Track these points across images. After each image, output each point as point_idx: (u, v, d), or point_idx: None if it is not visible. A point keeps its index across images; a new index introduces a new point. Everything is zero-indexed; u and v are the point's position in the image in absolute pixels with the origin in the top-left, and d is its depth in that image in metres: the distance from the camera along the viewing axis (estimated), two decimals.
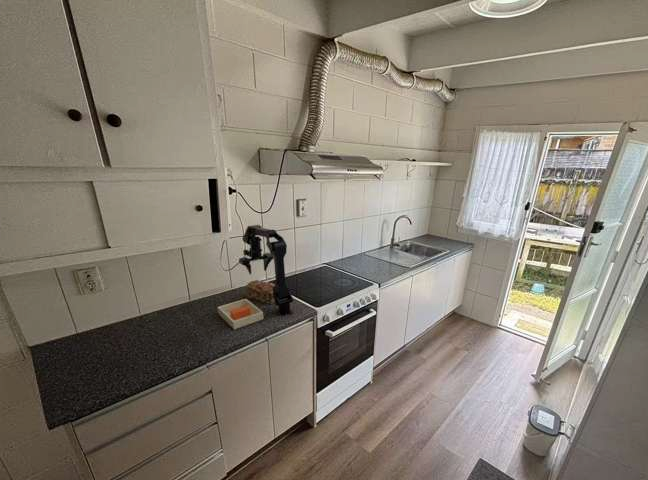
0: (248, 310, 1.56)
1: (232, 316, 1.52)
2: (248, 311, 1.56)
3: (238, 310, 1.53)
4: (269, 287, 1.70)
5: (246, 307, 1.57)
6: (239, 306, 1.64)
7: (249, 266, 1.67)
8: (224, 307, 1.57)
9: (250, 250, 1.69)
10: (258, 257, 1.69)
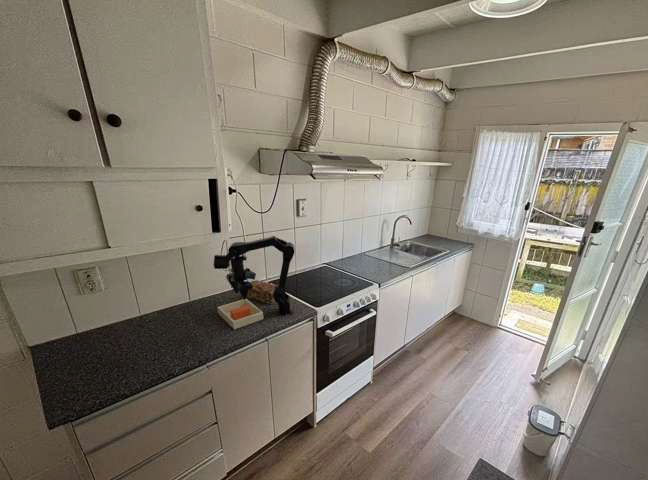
0: (248, 310, 1.56)
1: (232, 316, 1.52)
2: (248, 311, 1.56)
3: (238, 310, 1.53)
4: (269, 287, 1.70)
5: (246, 307, 1.57)
6: (239, 306, 1.64)
7: None
8: (224, 307, 1.57)
9: None
10: (233, 279, 1.48)
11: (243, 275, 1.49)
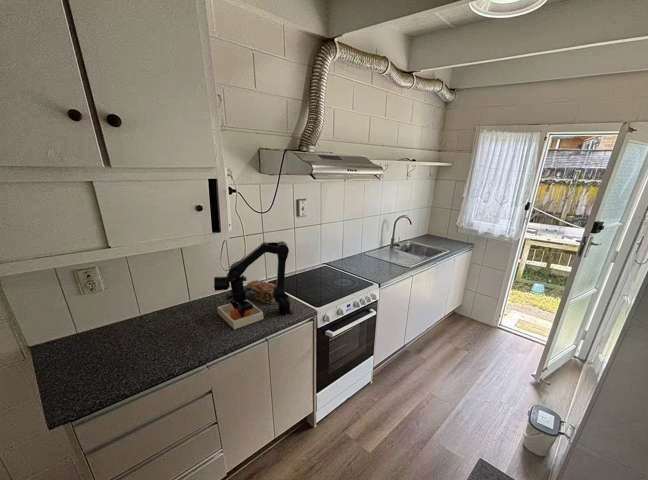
0: (248, 310, 1.56)
1: (232, 316, 1.52)
2: (248, 311, 1.56)
3: None
4: (269, 287, 1.70)
5: None
6: None
7: (231, 304, 1.54)
8: (224, 307, 1.57)
9: None
10: (233, 299, 1.50)
11: (243, 295, 1.50)
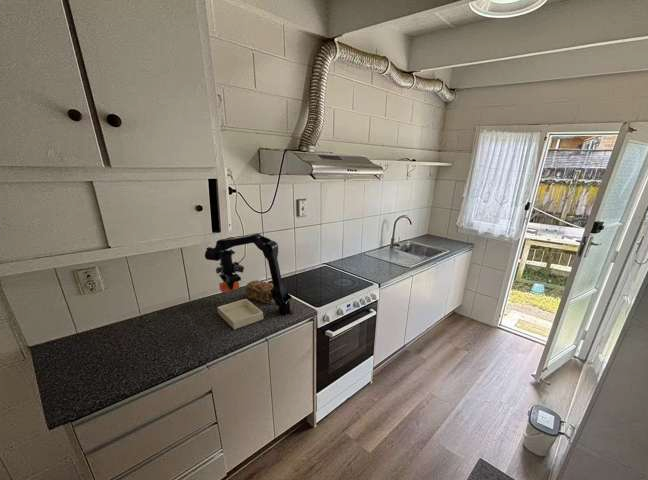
0: (237, 283, 1.63)
1: (221, 288, 1.59)
2: (237, 284, 1.63)
3: None
4: (269, 287, 1.70)
5: None
6: (239, 306, 1.64)
7: (221, 277, 1.61)
8: (224, 307, 1.57)
9: None
10: (222, 272, 1.57)
11: (232, 268, 1.58)
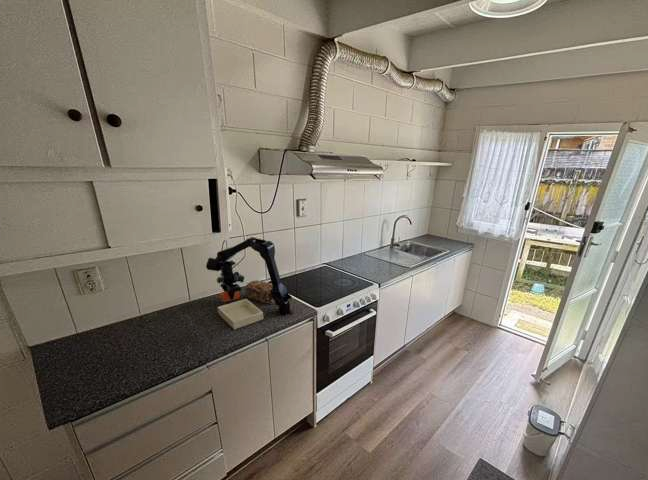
0: (237, 293, 1.67)
1: (222, 298, 1.63)
2: (237, 294, 1.67)
3: None
4: (269, 287, 1.70)
5: None
6: (239, 306, 1.64)
7: None
8: (224, 307, 1.57)
9: None
10: (223, 282, 1.61)
11: (232, 278, 1.61)
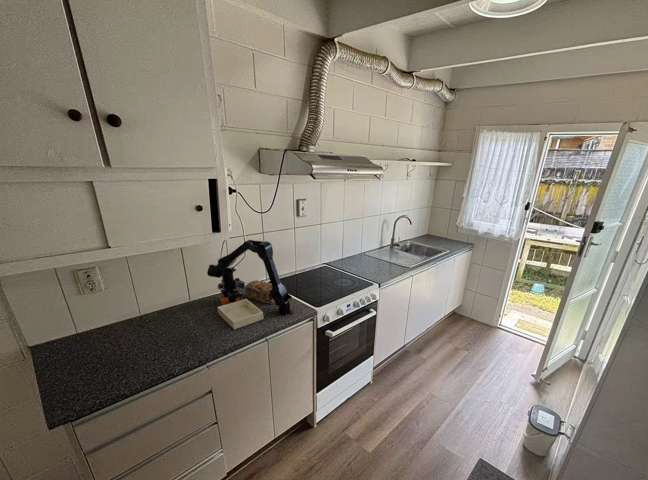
0: (238, 298, 1.68)
1: (223, 304, 1.64)
2: (238, 299, 1.68)
3: (228, 299, 1.65)
4: (269, 287, 1.70)
5: None
6: (239, 306, 1.64)
7: (222, 293, 1.67)
8: (224, 307, 1.57)
9: None
10: (223, 288, 1.62)
11: (233, 285, 1.63)
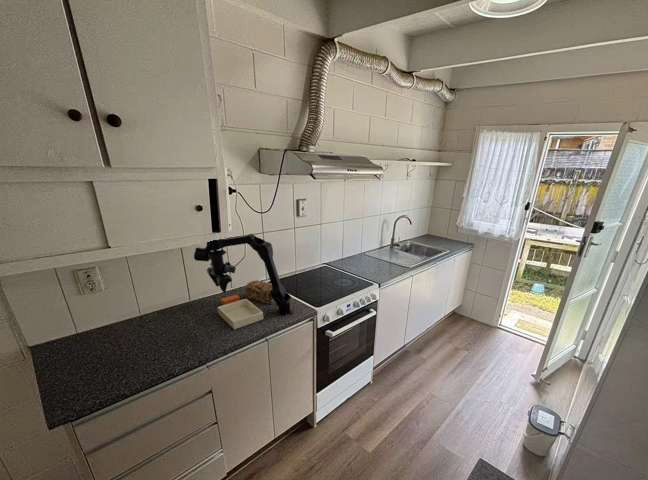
0: (238, 298, 1.68)
1: (223, 304, 1.64)
2: (238, 299, 1.68)
3: (228, 299, 1.65)
4: (269, 287, 1.70)
5: (236, 296, 1.69)
6: (239, 306, 1.64)
7: (210, 276, 1.59)
8: (224, 307, 1.57)
9: None
10: (212, 272, 1.53)
11: (223, 269, 1.53)
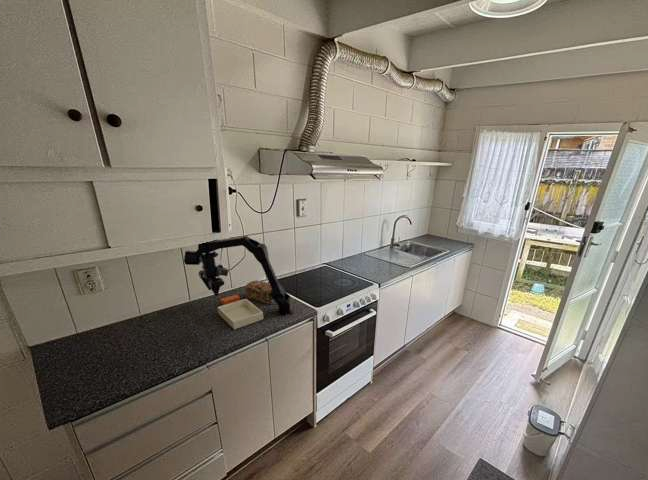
0: (238, 298, 1.68)
1: (223, 304, 1.64)
2: (238, 299, 1.68)
3: (228, 299, 1.65)
4: (269, 287, 1.70)
5: (236, 296, 1.69)
6: (239, 306, 1.64)
7: (202, 280, 1.53)
8: (224, 307, 1.57)
9: None
10: (204, 275, 1.48)
11: (215, 271, 1.49)
